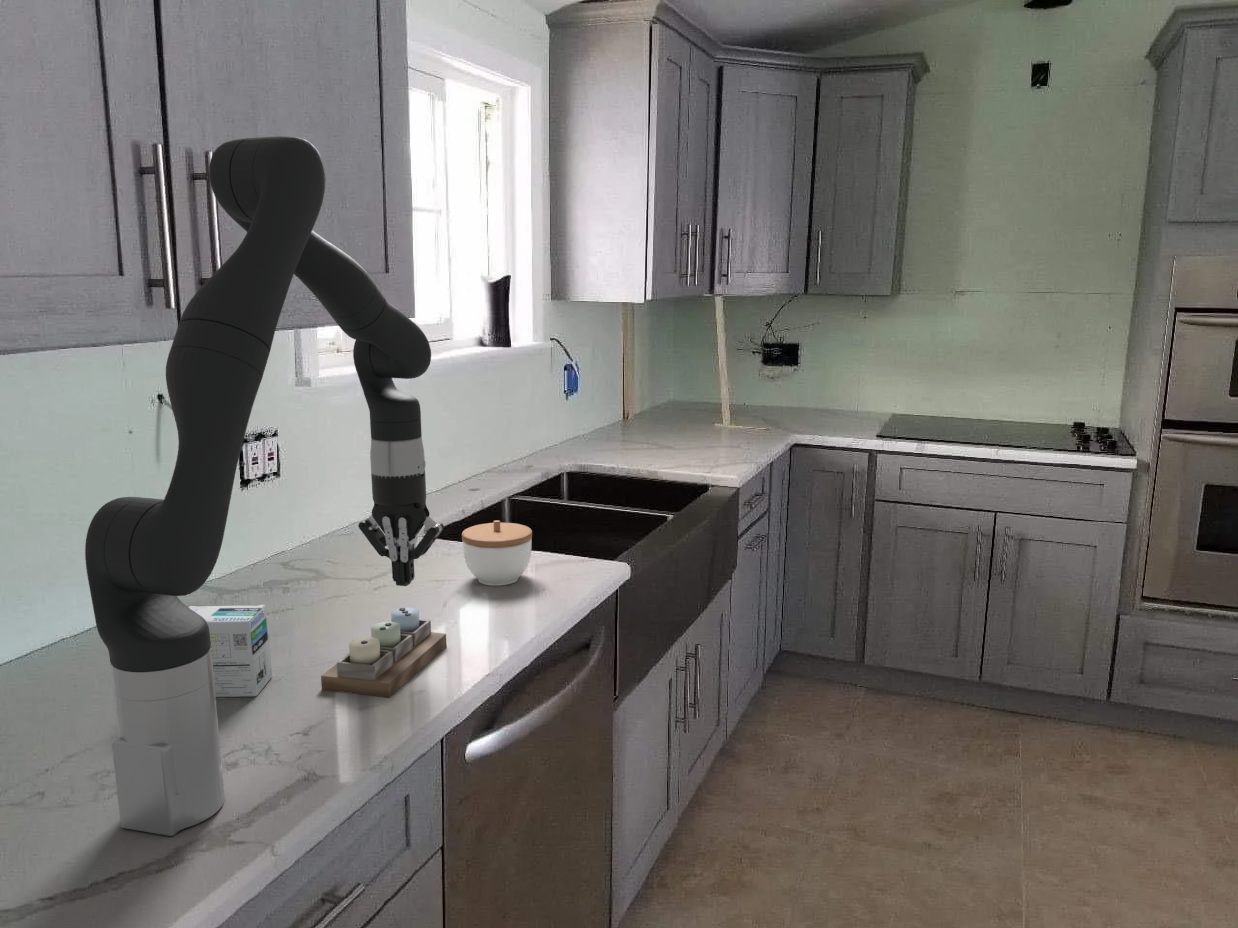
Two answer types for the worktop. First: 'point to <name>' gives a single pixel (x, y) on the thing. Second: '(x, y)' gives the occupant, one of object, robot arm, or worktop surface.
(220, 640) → the light bulb box
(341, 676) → the button panel
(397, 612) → the three-pip button
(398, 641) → the two-pip button
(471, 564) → the lidded bowl
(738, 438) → the worktop surface
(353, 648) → the one-pip button
